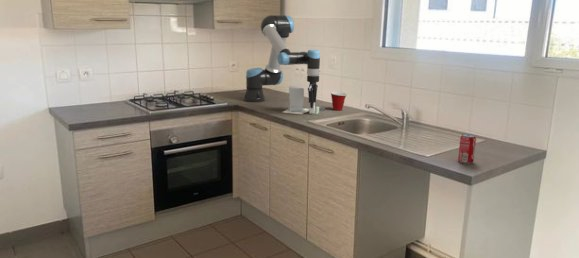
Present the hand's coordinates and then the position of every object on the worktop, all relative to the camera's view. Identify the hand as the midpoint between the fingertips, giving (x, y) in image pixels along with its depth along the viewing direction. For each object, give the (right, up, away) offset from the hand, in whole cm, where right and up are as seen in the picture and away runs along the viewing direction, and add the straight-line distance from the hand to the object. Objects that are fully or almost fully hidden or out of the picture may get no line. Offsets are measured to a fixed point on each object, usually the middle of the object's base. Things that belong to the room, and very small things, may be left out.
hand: (312, 112), depth 278 cm
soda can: (+61, -25, -88) cm, 110 cm away
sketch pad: (-10, +1, +9) cm, 13 cm away
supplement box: (-10, +2, +9) cm, 14 cm away
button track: (+3, 0, +7) cm, 8 cm away
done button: (+1, 0, +4) cm, 4 cm away
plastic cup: (+18, +2, +15) cm, 23 cm away
